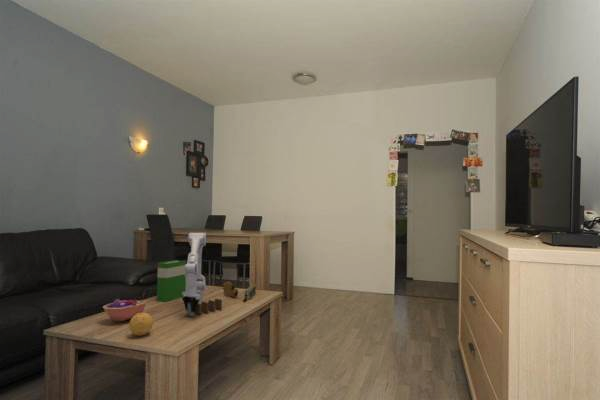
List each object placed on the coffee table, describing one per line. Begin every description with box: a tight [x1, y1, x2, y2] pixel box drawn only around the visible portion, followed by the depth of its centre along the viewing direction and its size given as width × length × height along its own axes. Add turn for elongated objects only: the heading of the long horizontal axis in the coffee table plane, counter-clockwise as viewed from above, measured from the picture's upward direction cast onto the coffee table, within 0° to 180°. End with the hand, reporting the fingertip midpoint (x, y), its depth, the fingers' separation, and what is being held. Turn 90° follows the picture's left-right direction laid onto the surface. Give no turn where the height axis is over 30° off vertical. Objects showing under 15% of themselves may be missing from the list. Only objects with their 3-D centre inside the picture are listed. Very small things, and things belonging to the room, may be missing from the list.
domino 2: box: [194, 303, 202, 317], centre depth 191 cm, size 1×5×6 cm, turn 49°
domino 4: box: [207, 299, 216, 313], centre depth 198 cm, size 1×5×6 cm, turn 49°
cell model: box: [102, 298, 146, 322], centre depth 181 cm, size 17×20×11 cm
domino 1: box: [186, 303, 195, 317], centre depth 188 cm, size 1×5×6 cm, turn 49°
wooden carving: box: [222, 281, 239, 298], centre depth 234 cm, size 16×5×10 cm, turn 49°
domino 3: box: [201, 300, 209, 315], centre depth 195 cm, size 1×5×6 cm, turn 49°
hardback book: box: [156, 259, 187, 303], centre depth 228 cm, size 18×7×24 cm, turn 158°
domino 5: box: [214, 298, 223, 312], centre depth 202 cm, size 1×5×6 cm, turn 49°
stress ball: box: [128, 311, 154, 337], centre depth 159 cm, size 10×10×10 cm
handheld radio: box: [242, 284, 257, 302], centre depth 231 cm, size 7×3×25 cm
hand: (190, 311), depth 188 cm, fingers closed on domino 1, 5 cm apart
